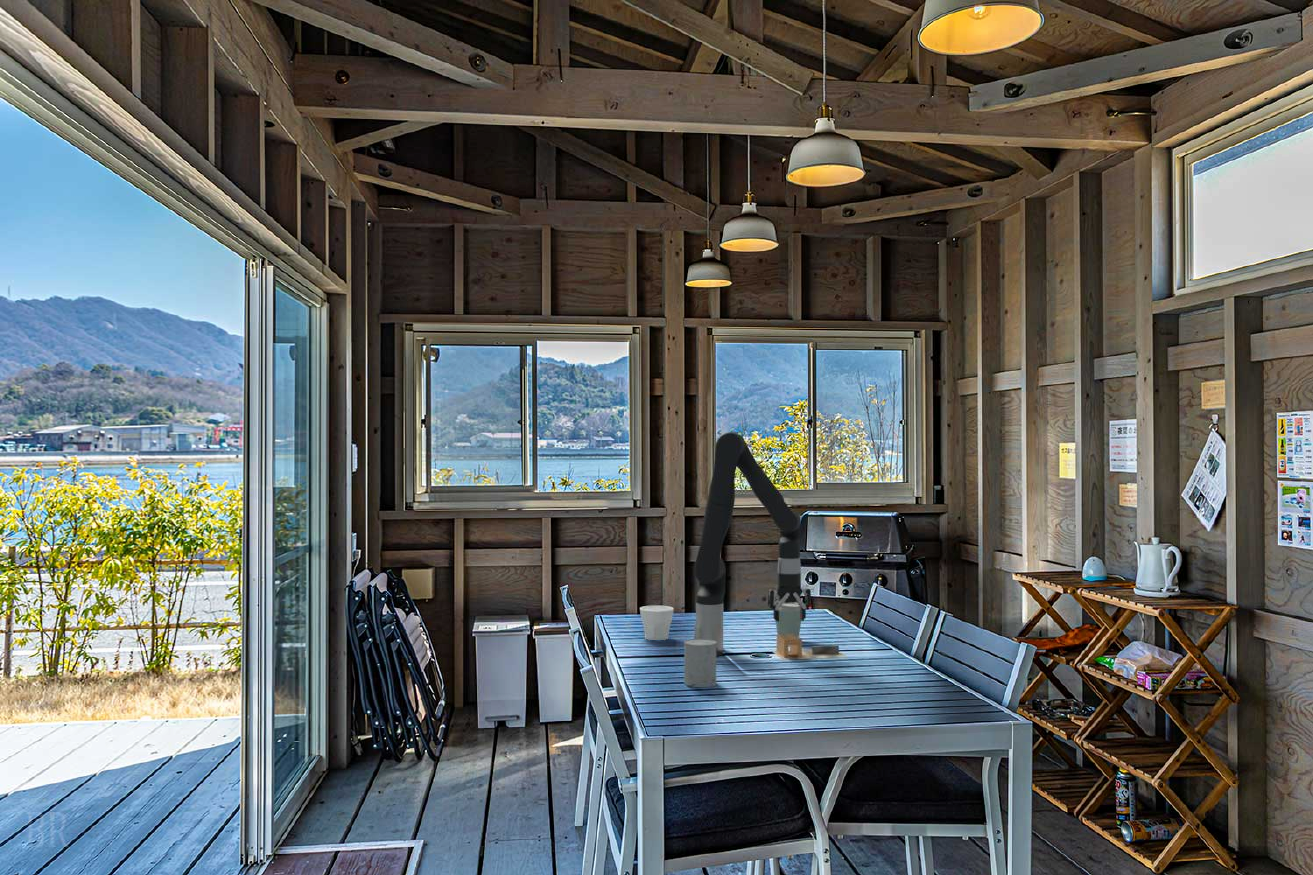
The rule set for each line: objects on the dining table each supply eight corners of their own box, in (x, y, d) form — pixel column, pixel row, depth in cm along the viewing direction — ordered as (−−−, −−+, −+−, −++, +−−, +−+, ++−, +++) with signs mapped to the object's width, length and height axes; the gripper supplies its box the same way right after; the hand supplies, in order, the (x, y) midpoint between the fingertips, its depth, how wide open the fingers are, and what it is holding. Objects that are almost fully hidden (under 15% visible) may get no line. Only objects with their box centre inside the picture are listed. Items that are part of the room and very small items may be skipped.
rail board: (783, 663, 303) (783, 651, 303) (771, 655, 315) (772, 643, 315) (847, 661, 307) (847, 649, 307) (834, 653, 319) (834, 641, 319)
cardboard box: (801, 657, 307) (801, 638, 307) (784, 657, 306) (784, 639, 306) (793, 651, 315) (794, 633, 315) (776, 652, 313) (776, 634, 314)
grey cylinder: (694, 689, 272) (694, 646, 272) (678, 681, 280) (678, 640, 280) (722, 685, 276) (722, 643, 276) (705, 678, 284) (706, 637, 285)
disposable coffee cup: (802, 642, 338) (802, 600, 338) (804, 648, 327) (804, 605, 327) (772, 641, 339) (772, 599, 339) (773, 647, 328) (773, 604, 328)
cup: (680, 637, 345) (680, 607, 345) (661, 643, 334) (662, 612, 334) (651, 633, 351) (651, 604, 351) (632, 639, 341) (632, 609, 341)
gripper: (771, 573, 305) (772, 623, 305) (813, 572, 308) (814, 622, 308) (765, 570, 313) (765, 619, 313) (806, 569, 315) (806, 618, 315)
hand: (789, 620), depth 310 cm, fingers open, 8 cm apart
